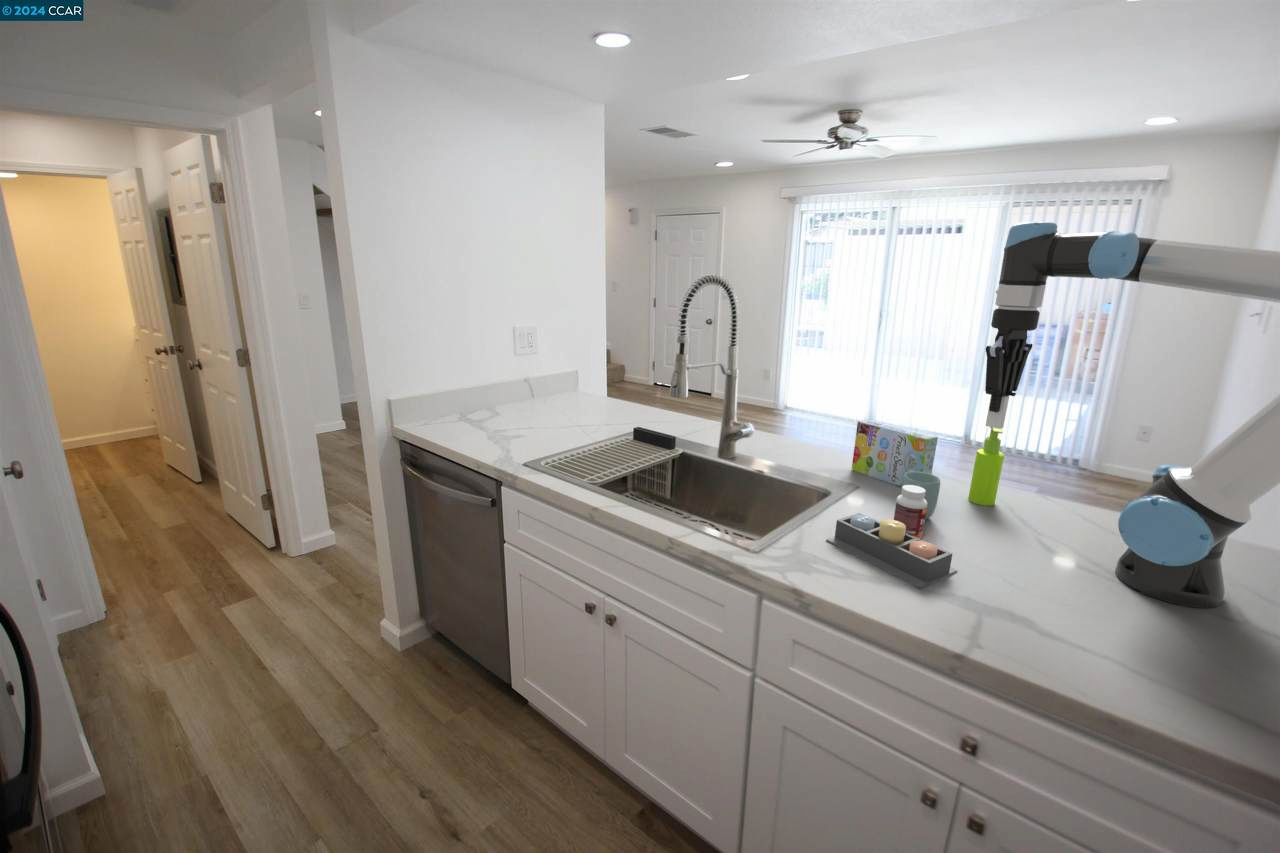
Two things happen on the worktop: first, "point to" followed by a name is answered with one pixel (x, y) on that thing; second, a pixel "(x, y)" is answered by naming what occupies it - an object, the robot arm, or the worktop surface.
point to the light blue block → (862, 522)
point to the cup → (928, 483)
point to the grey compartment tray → (892, 554)
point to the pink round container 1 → (923, 549)
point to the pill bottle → (911, 509)
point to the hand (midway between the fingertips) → (994, 426)
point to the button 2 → (892, 531)
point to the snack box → (892, 451)
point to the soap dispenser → (987, 471)
